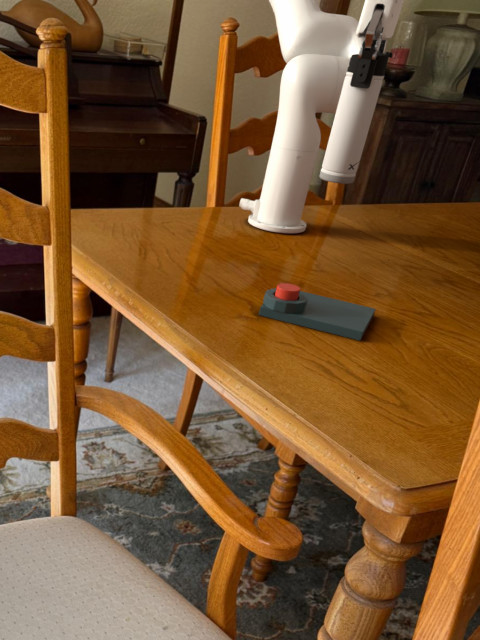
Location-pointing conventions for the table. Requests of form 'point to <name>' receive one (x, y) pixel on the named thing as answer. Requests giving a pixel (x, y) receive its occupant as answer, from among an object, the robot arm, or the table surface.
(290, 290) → the button
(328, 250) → the table surface
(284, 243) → the table surface
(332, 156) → the travel mug
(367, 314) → the grey kitchen scale
